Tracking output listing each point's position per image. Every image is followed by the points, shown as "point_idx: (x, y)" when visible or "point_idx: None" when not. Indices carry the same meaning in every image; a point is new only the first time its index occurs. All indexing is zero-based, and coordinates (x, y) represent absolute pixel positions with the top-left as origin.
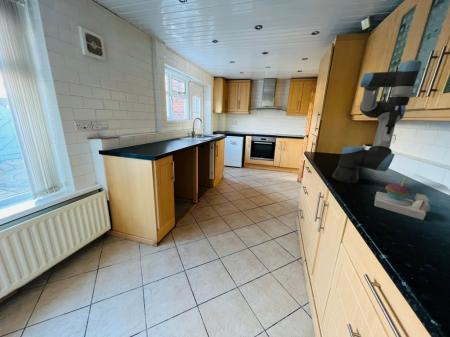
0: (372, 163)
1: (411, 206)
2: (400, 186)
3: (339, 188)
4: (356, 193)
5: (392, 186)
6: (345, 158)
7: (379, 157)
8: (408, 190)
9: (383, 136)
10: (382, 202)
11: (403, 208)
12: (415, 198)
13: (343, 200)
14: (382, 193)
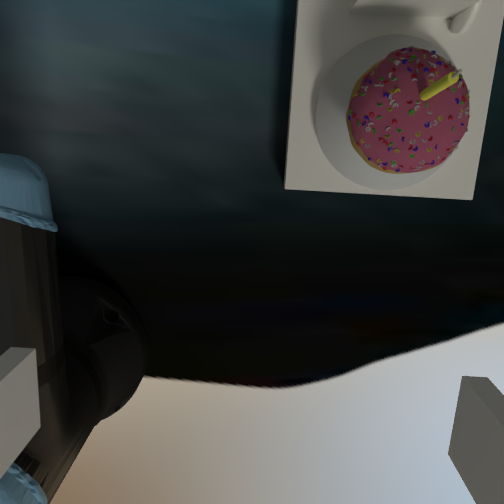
0: (55, 283)
1: (434, 33)
2: (441, 103)
3: (306, 355)
4: (320, 274)
5: (444, 146)
6: (66, 473)
7: (8, 266)
8: (409, 50)
9: (476, 499)
10: (476, 170)
11: (490, 77)
12: (378, 5)
13: (494, 324)
14: (350, 168)
